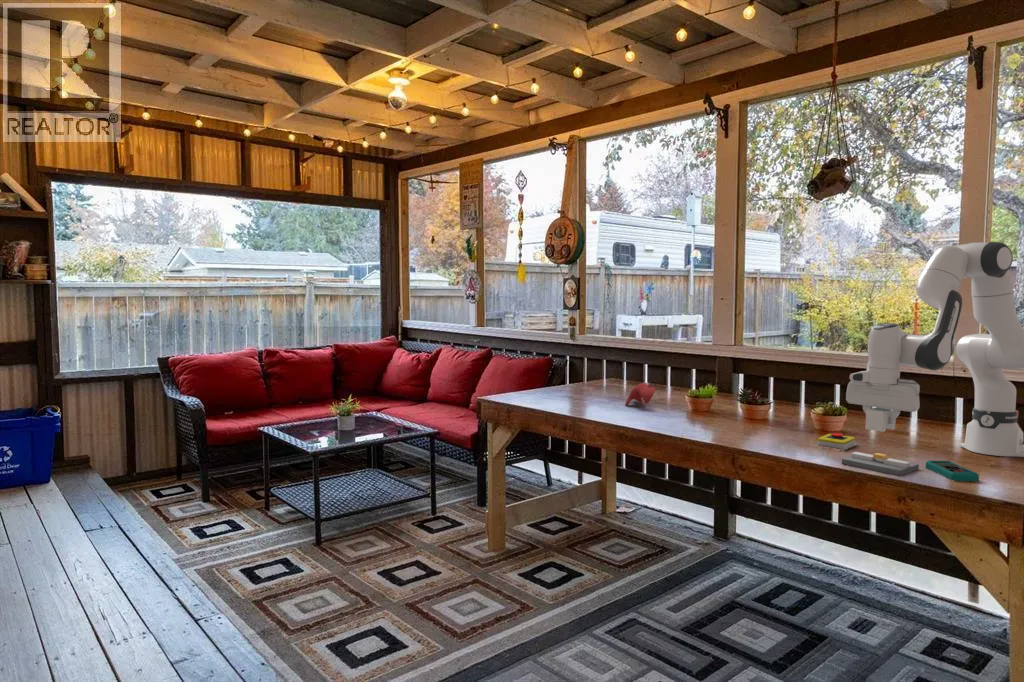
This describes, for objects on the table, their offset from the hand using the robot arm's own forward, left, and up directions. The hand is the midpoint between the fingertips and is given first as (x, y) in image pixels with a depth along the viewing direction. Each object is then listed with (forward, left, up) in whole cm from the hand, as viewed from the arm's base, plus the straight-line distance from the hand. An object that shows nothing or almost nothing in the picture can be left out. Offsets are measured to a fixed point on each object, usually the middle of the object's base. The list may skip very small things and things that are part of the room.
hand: (880, 422), depth 201 cm
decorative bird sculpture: (-22, -119, -14) cm, 122 cm away
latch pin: (0, 0, -11) cm, 11 cm away
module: (0, 0, -2) cm, 2 cm away
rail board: (0, 0, -14) cm, 14 cm away
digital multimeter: (-8, +17, -14) cm, 23 cm away
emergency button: (-16, -22, -14) cm, 31 cm away
